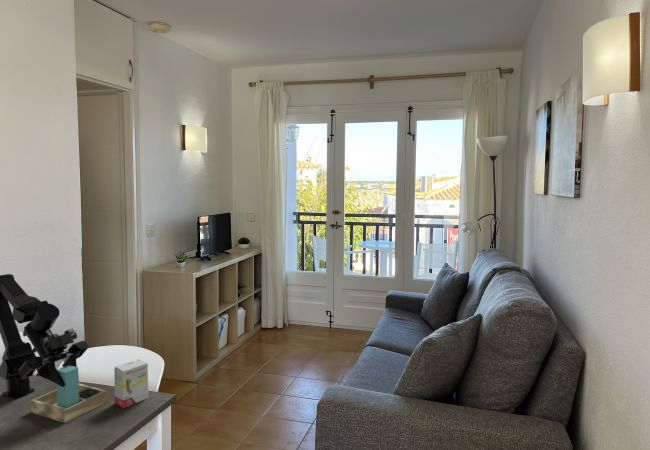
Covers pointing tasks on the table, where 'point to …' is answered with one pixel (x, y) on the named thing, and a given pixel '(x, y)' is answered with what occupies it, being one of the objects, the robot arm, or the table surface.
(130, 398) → the ink box
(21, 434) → the table surface
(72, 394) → the plug
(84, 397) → the walled box
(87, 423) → the table surface
